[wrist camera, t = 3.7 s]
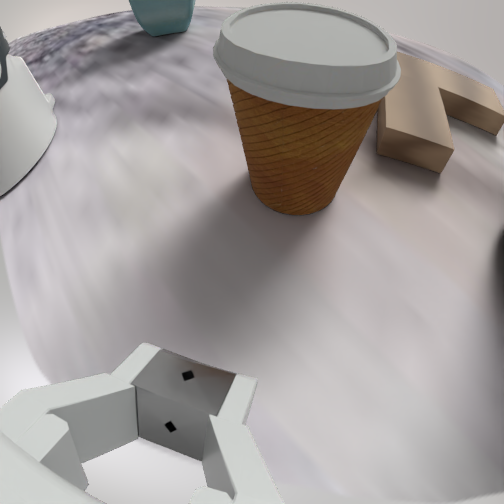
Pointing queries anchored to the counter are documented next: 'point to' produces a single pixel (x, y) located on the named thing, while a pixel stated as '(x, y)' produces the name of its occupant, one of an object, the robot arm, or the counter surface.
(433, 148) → the walnut T block
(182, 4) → the flower pot
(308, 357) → the counter surface
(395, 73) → the disposable coffee cup
